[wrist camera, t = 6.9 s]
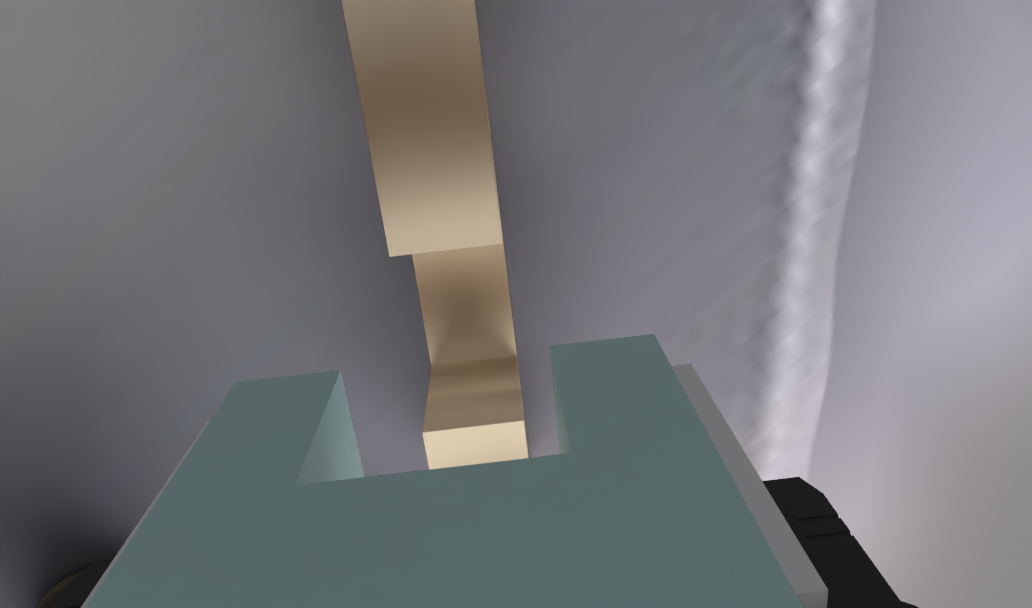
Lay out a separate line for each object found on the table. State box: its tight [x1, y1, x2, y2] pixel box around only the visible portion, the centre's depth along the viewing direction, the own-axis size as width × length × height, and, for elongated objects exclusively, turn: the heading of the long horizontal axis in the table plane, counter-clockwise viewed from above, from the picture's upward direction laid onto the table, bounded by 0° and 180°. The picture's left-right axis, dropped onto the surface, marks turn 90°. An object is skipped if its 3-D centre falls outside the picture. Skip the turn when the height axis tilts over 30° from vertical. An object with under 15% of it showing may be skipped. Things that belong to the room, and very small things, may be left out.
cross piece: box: [86, 334, 803, 608], centre depth 12 cm, size 4×9×8 cm, turn 96°
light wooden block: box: [342, 0, 529, 470], centre depth 23 cm, size 20×3×8 cm, turn 6°
